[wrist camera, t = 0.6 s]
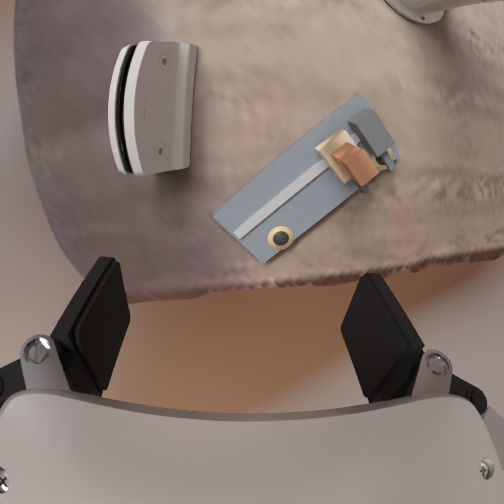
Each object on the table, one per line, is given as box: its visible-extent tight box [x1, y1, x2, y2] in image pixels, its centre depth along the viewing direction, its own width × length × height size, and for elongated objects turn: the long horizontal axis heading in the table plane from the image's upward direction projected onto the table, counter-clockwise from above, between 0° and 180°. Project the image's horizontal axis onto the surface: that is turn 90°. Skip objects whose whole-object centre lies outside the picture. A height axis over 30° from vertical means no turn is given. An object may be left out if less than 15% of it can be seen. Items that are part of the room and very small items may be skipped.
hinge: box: [108, 41, 197, 176], centre depth 26 cm, size 17×5×10 cm, turn 175°
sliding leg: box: [315, 129, 379, 194], centre depth 29 cm, size 4×8×8 cm, turn 42°
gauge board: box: [213, 95, 400, 263], centre depth 33 cm, size 25×10×5 cm, turn 132°
